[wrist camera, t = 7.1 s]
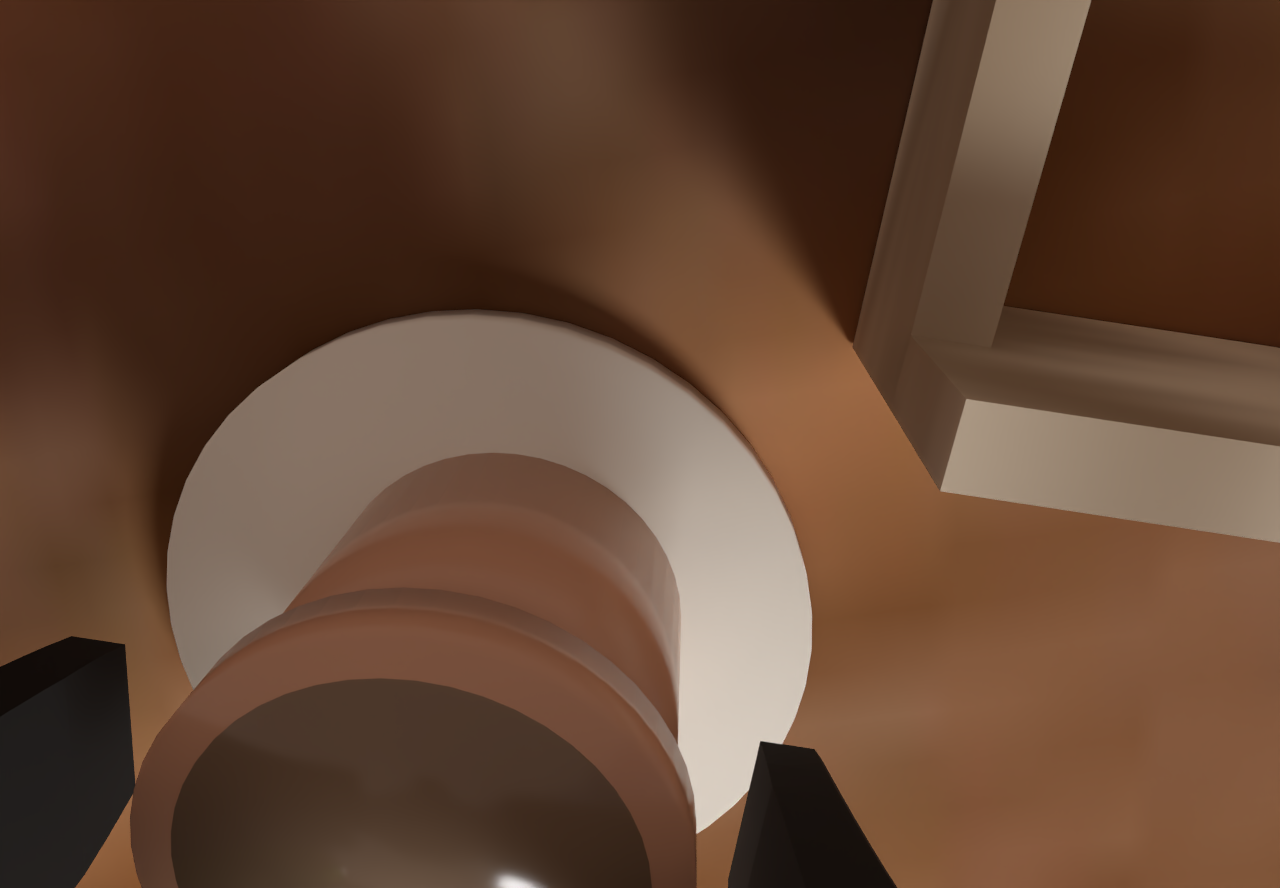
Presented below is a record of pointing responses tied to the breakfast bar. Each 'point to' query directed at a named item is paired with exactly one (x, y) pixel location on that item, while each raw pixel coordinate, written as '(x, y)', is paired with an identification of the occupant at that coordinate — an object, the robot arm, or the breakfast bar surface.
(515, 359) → the coaster
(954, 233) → the frame
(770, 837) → the robot arm
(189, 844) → the flower pot
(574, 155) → the breakfast bar surface
